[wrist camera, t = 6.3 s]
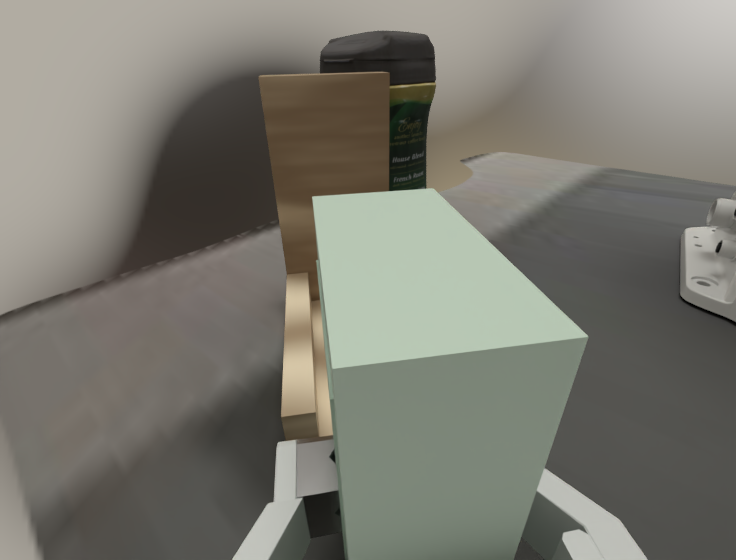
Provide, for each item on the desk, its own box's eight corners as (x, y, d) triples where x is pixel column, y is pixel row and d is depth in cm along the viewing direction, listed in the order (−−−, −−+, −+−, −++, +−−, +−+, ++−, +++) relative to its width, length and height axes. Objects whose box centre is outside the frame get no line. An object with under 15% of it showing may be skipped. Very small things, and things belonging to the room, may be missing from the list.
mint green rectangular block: (341, 520, 16) (310, 196, 9) (412, 507, 17) (435, 188, 10) (361, 733, 11) (327, 369, 4) (464, 708, 12) (592, 336, 5)
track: (292, 297, 31) (261, 75, 23) (383, 288, 32) (383, 71, 24) (290, 464, 19) (219, 97, 11) (440, 440, 20) (479, 87, 12)
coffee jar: (440, 251, 38) (458, 28, 29) (378, 277, 34) (376, 25, 25) (377, 224, 45) (376, 34, 36) (319, 242, 41) (300, 33, 31)
